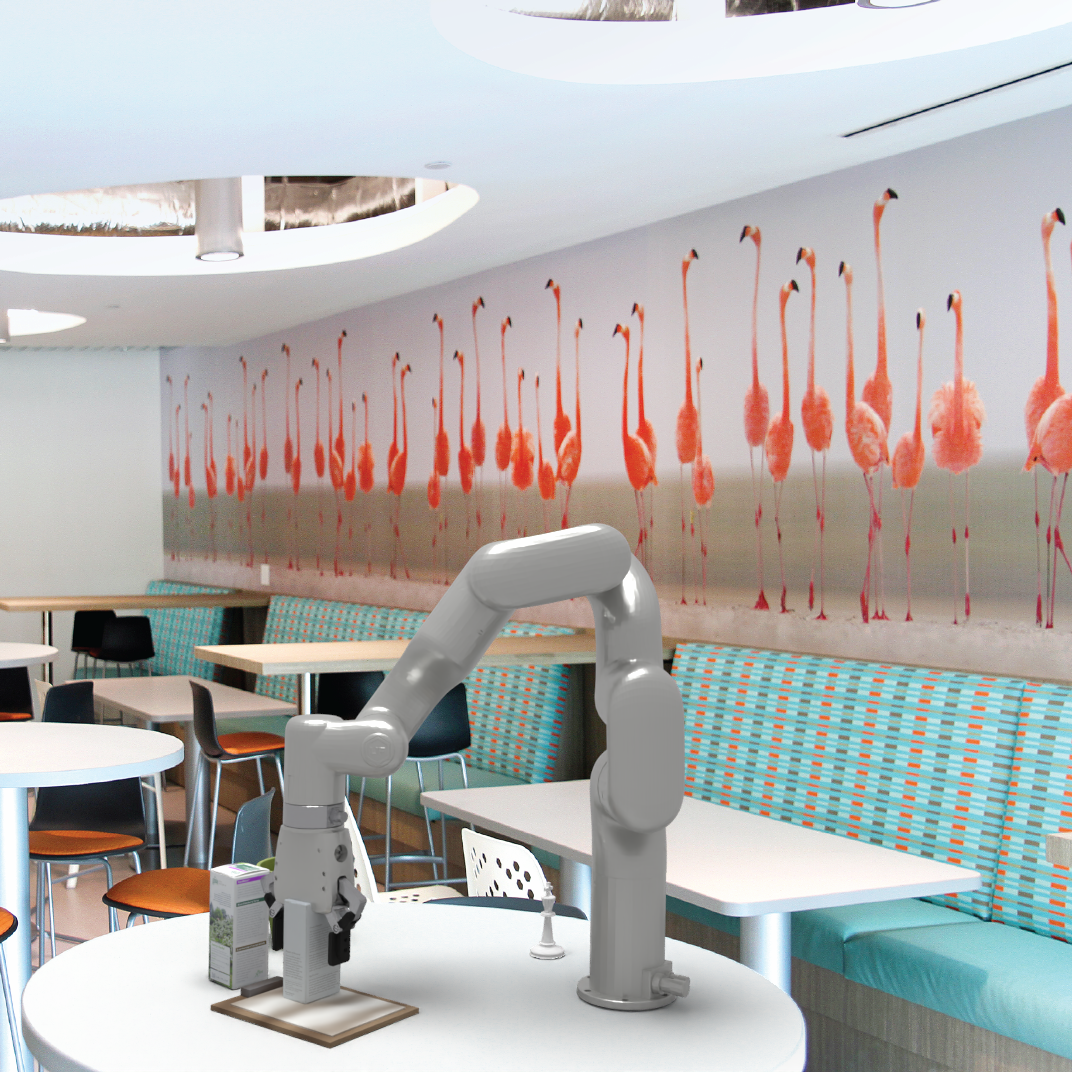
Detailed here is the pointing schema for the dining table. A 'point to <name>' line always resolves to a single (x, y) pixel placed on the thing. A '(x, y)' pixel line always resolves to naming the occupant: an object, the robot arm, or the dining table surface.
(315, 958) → the skincare box
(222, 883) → the syrup box
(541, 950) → the chess piece
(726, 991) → the dining table surface
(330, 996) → the clipboard
